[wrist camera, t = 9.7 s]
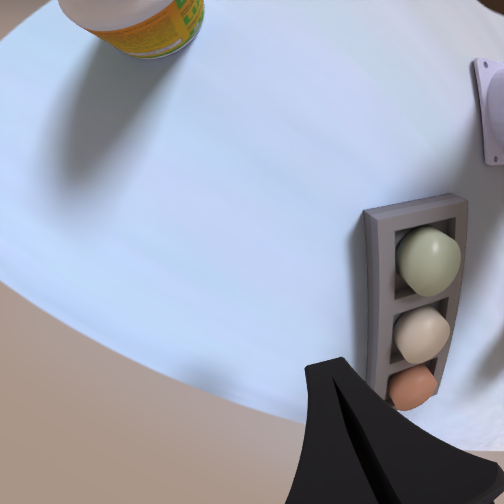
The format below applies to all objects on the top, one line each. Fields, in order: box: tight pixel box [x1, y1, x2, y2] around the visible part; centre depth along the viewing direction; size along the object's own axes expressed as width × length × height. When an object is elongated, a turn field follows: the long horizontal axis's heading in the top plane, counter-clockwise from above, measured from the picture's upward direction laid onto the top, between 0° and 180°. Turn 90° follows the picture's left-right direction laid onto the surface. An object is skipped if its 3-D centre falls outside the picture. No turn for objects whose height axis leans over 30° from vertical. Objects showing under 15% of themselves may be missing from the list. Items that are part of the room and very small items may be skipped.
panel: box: [364, 193, 468, 410], centre depth 21 cm, size 7×19×2 cm, turn 12°
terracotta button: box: [387, 363, 437, 411], centre depth 22 cm, size 4×4×2 cm
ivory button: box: [393, 304, 450, 364], centre depth 20 cm, size 4×4×2 cm
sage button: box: [395, 225, 461, 297], centre depth 18 cm, size 4×4×2 cm
